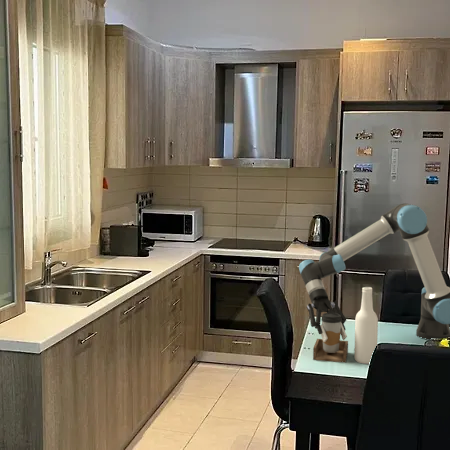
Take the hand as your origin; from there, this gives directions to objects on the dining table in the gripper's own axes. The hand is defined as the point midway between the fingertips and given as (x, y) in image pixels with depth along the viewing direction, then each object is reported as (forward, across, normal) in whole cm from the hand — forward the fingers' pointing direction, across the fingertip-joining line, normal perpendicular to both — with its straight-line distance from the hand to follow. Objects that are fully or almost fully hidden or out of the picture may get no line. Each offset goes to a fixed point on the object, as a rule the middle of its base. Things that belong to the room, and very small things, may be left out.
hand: (335, 339), depth 241 cm
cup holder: (+3, 0, -8) cm, 9 cm away
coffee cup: (+2, 0, -7) cm, 7 cm away
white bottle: (+10, -10, -1) cm, 15 cm away
